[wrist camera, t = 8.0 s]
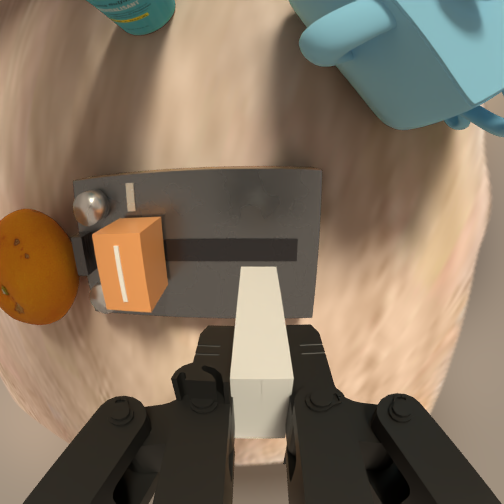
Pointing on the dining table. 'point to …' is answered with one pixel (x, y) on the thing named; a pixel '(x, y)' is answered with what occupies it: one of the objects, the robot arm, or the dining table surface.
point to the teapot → (413, 56)
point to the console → (211, 232)
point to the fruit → (36, 268)
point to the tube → (137, 13)
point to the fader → (131, 263)
